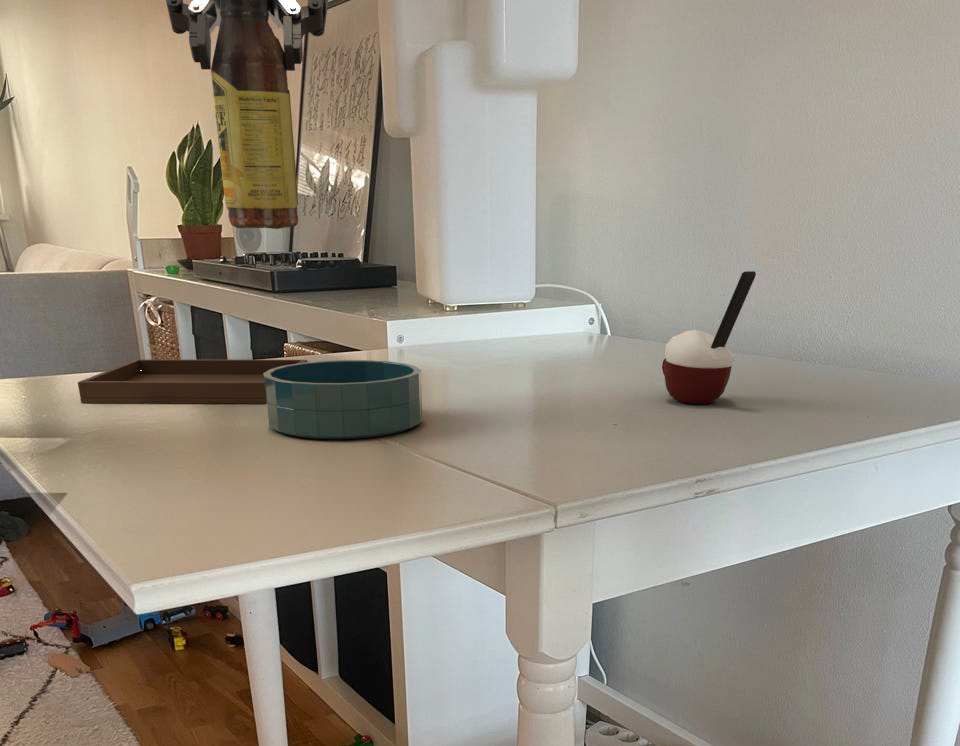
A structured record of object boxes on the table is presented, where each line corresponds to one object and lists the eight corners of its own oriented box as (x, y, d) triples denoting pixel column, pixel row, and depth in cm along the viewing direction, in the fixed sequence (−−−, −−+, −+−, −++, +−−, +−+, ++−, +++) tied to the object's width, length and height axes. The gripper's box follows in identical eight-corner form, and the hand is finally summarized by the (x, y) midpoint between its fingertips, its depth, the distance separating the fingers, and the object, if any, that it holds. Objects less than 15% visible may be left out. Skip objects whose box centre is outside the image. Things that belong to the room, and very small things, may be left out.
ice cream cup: (648, 394, 97) (657, 266, 92) (708, 392, 98) (719, 265, 93) (683, 413, 88) (694, 272, 83) (748, 410, 89) (763, 271, 84)
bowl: (251, 440, 79) (245, 384, 77) (288, 409, 91) (283, 359, 89) (413, 441, 78) (411, 384, 76) (428, 409, 90) (427, 360, 88)
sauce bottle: (238, 227, 88) (213, -35, 80) (307, 227, 88) (288, -36, 79) (217, 229, 82) (187, -54, 74) (290, 229, 82) (268, -56, 74)
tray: (80, 403, 94) (77, 382, 93) (138, 377, 108) (135, 359, 107) (276, 403, 93) (274, 382, 93) (309, 378, 107) (307, 359, 106)
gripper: (150, -130, 80) (144, 14, 74) (327, -124, 81) (334, 18, 75) (170, -38, 87) (165, 100, 81) (332, -35, 88) (339, 102, 82)
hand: (247, 60), depth 78 cm, fingers closed on sauce bottle, 6 cm apart
